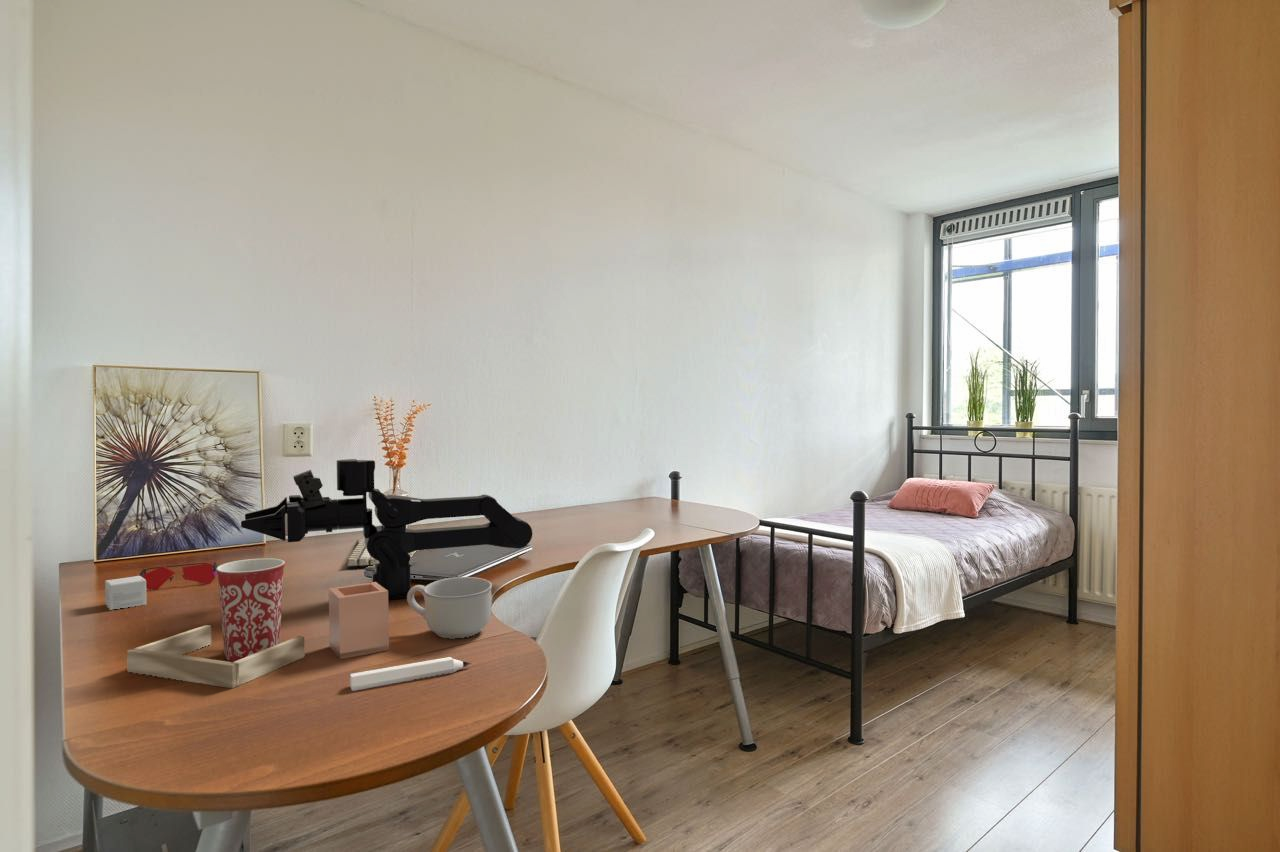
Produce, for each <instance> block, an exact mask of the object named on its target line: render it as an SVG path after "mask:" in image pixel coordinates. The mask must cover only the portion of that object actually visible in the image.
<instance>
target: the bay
mask: <svg viewBox="0 0 1280 852" xmlns="http://www.w3.org/2000/svg"><path fill="white" fill-rule="evenodd" d="M208 645H209V646H212V625H210V624H209V625H208V624H205V625H202V626H199V627H195V628H193V629H189V630H187V631H184V632H181V633H177V634H174V635H171V636H169V637H165V638H162V639H159V640H156V641H154V642H150V643H148V644H147V643H146V644H144V645H141V646H137V647H135V648H131V649H128V650H126V665H127V666H126V669H127V670H126V671H128V672H127V673H129V672H133V673H132V674H136V673H138V674H137V675H142V674H146V675H145V676H149V675H152V676H151V677H155V676H157V677H156V678H162V677H163V678H164V679H168V678H170V680H175V679H176V680H177V681H181V680H182V682H190V683H195V684H201V683H202V685H210V686H216V687H222V688H229V689H234V688H237V687H239V686H241V685H244V684H246V683H248V682H250V681H253V680H255V679H258V678H260V677H261V676H264V675H267V674H269V673H271V672H274V671H275V670H277V669H280V668H282V667H284V666H287V665H289V664H291V663H294V662H296V661H298V660H300V659H303V658H305V655H306V653H305V636H300V635H298V636H295V637H293V638H290V639H288V640H285V641H283V642H280V644H277V645H275V646H272V647H270V648H267V649H265V650H262V651H260V652H257V653H255V654H252V655H250V656H247V657H245V658H242V659H240V660H237V661H235V662H233V661H228V660H218V659H211V658H205V657H204V658H203V657H199V656H198V657H197V656H192V655H186V653H187V654H190V653H192V651H193V652H195V651H198V650H201V649H203V648H202V647H204V648H206V647H209V646H208ZM205 646H206V647H205ZM200 648H201V649H200ZM197 649H198V650H197ZM189 652H190V653H189ZM183 654H184V655H183ZM176 680H175V681H176Z"/></svg>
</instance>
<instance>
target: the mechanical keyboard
mask: <svg viewBox="0 0 1280 852" xmlns="http://www.w3.org/2000/svg"><path fill="white" fill-rule="evenodd" d="M364 541H365V537H364V535H363V536H362V538H361V539H360V540H359V539H357V540H356V542H355V543H354V545H353V548H352V550H353V551H352V552H351V554H350V556H349V558H347V568H346V571H350V570H351V571H354V570H355V571H357V570H366V569H365V568H366V567H368V566H373V565H375V564H379V561H378V560H376V559H374V558H373V557H371V556H370V554H369V553H368V551H367V549H366V546H365V542H364ZM415 552H416V551H414V552H411V553H408V554H409V555H410V557H412V556H413V554H414V553H415Z"/></svg>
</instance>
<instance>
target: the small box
mask: <svg viewBox="0 0 1280 852" xmlns="http://www.w3.org/2000/svg"><path fill="white" fill-rule="evenodd" d="M104 581H105V582H104V588H105V596H104V597H105V606H106V605H107V606H106V607H107V609H109V611H111V610H112V609H118V610H121V609H120V608H124V609H129V608H128V607H130V608H135V606H136V607H142V605H143V606H147V588H146V580H145V579H144V578H142V577H141V576H139V575H135V576H130V577H129V576H128V577H123V578H122V577H121V578H115V579H113V578H112V579H106V580H104ZM112 611H113V610H112Z"/></svg>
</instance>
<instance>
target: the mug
mask: <svg viewBox="0 0 1280 852" xmlns="http://www.w3.org/2000/svg"><path fill="white" fill-rule="evenodd" d="M285 565H286V561H285V560H283V559H280V558H272V557H271V558H270V557H269V558H268V557H267V558H263V557H262V558H251V559H250V558H247V559H241V560H234V561H229V562H225V563H223V564H220V565H219V566H217V568H216V574H217V580H218V589H219V590H218V592H219V601H220V602H219V603H220V614H221V616H220V618H221V626H222V627H221V628H222V638H223V654H224V659H225V660H226V661H228V662H235V661H237V660H240V659H242V658H245V657H247V656H250V655H252V654H255V653H257V652H260V651H262V650H265V649H267V648H270V647H272V646H275V645H277V644H280V643H281V626H282V625H281V623H282V603H283V602H282V601H283V588H284V587H283V585H284V568H285Z"/></svg>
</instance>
